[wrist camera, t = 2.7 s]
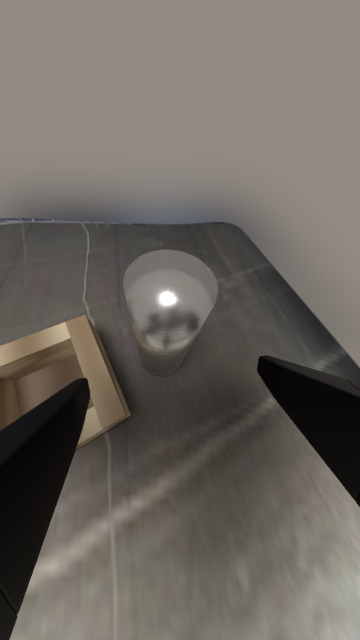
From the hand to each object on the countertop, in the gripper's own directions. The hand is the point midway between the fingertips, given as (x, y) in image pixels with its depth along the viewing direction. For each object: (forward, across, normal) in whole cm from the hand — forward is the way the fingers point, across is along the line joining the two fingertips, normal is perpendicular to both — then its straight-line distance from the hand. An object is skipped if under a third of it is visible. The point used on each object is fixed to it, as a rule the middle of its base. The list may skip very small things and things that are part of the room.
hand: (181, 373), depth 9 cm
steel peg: (+11, 0, +5) cm, 12 cm away
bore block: (+9, +10, +7) cm, 15 cm away
